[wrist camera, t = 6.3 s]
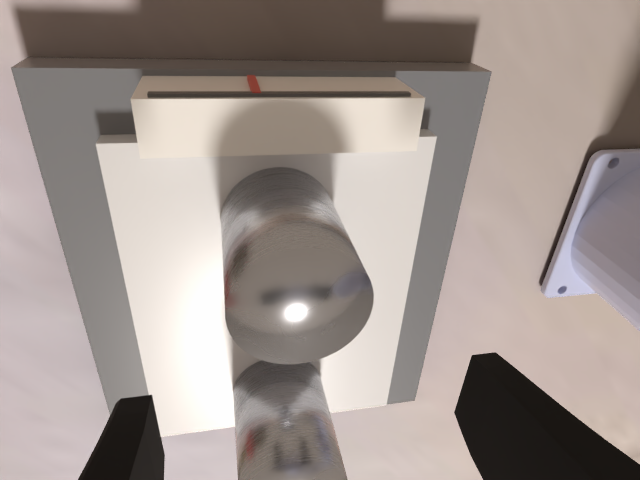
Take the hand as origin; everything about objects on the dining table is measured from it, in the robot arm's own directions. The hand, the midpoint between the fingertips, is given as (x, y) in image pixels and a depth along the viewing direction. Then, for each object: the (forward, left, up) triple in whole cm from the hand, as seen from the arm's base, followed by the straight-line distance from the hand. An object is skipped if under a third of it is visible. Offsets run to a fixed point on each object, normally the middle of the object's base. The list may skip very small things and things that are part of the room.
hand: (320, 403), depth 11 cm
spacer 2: (0, +8, -8) cm, 11 cm away
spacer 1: (0, -1, -8) cm, 8 cm away
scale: (0, +3, -10) cm, 10 cm away
